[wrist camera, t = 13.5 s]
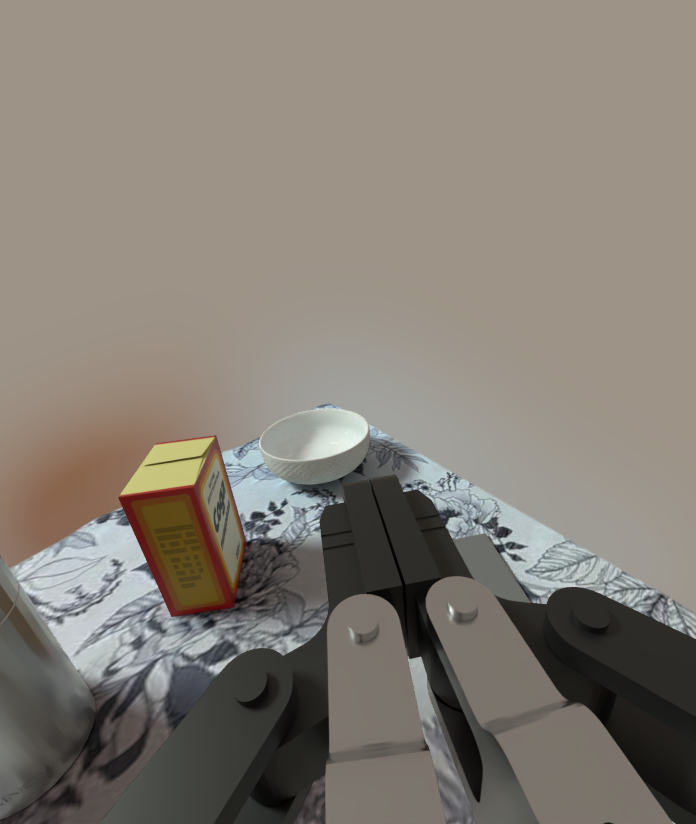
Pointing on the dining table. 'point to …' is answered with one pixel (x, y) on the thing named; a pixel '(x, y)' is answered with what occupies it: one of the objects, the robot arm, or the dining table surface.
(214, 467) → the baking soda box
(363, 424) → the cereal bowl
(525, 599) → the mat
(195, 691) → the dining table surface
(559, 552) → the dining table surface
